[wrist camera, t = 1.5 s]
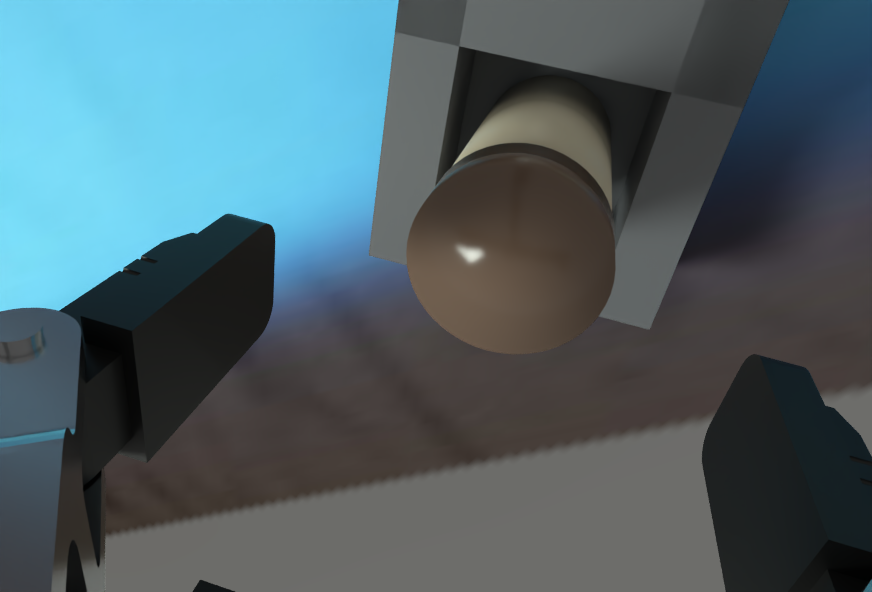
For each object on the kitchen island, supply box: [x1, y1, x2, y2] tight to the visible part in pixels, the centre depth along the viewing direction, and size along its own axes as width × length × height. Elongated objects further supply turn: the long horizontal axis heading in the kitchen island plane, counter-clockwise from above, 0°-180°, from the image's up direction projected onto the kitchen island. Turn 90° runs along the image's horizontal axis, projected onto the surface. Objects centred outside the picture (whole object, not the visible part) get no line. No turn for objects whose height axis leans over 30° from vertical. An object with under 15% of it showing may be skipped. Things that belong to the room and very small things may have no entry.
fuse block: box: [369, 0, 789, 329], centre depth 17 cm, size 16×9×4 cm, turn 171°
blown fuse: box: [406, 75, 616, 354], centre depth 16 cm, size 4×4×9 cm
